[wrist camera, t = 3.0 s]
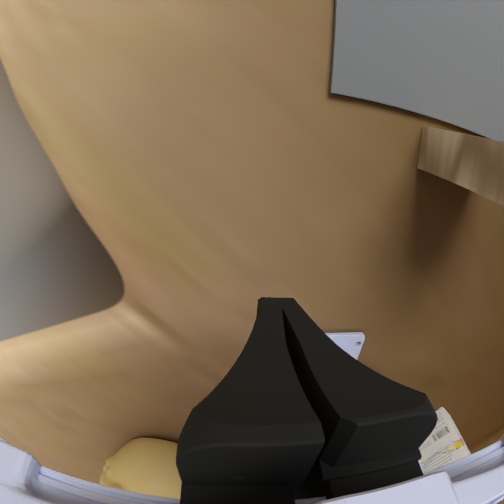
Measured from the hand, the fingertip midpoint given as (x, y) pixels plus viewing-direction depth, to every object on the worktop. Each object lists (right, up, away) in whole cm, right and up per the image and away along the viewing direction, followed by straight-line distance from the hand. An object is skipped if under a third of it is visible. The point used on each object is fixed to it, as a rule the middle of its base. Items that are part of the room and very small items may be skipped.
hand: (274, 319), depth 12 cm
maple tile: (+14, +10, +6) cm, 18 cm away
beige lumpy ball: (-12, -22, +20) cm, 32 cm away
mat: (+14, +19, +2) cm, 24 cm away
